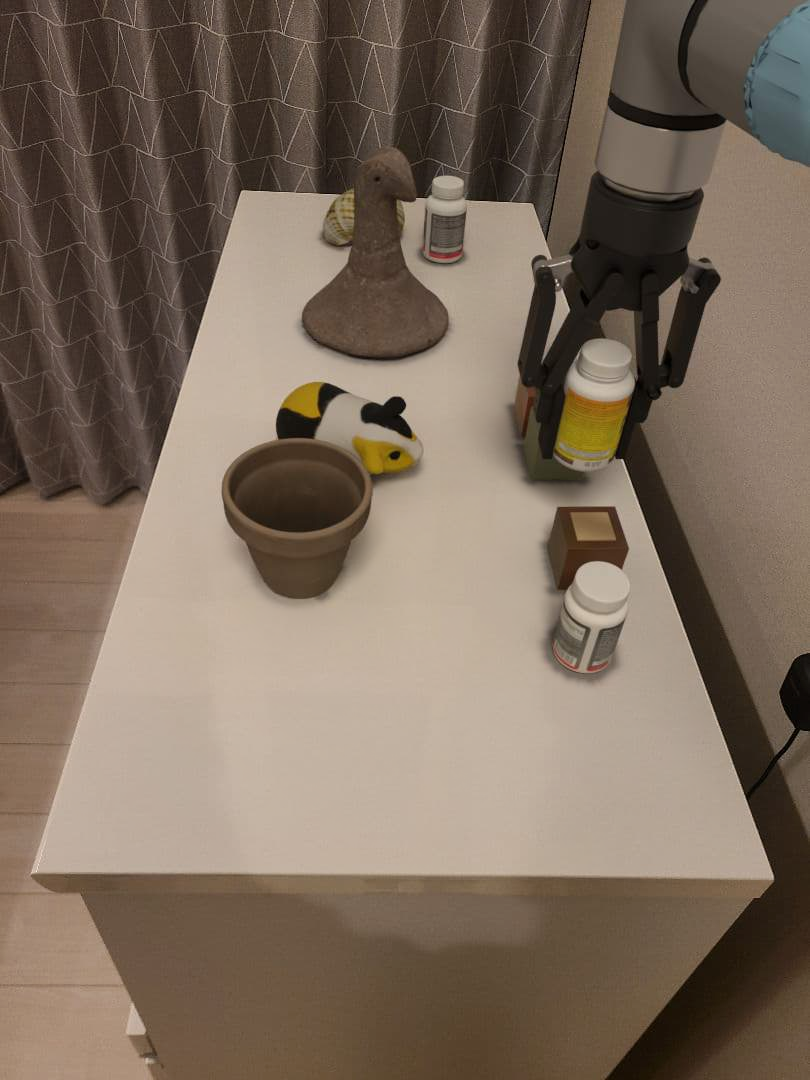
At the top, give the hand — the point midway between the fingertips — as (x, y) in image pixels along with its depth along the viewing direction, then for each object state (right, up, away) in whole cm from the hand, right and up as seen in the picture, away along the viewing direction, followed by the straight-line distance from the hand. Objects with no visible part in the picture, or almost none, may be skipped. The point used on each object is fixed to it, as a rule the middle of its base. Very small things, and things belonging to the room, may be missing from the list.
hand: (580, 448), depth 72 cm
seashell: (-20, +34, +43) cm, 58 cm away
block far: (-1, 0, +10) cm, 10 cm away
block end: (-1, +4, +15) cm, 15 cm away
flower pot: (-24, -11, -1) cm, 26 cm away
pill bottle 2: (-1, -17, -6) cm, 18 cm away
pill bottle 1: (-10, +30, +40) cm, 51 cm away
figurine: (-21, 0, +9) cm, 23 cm away
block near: (0, -10, 0) cm, 10 cm away
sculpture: (-19, +18, +27) cm, 37 cm away
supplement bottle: (0, -1, 0) cm, 1 cm away
